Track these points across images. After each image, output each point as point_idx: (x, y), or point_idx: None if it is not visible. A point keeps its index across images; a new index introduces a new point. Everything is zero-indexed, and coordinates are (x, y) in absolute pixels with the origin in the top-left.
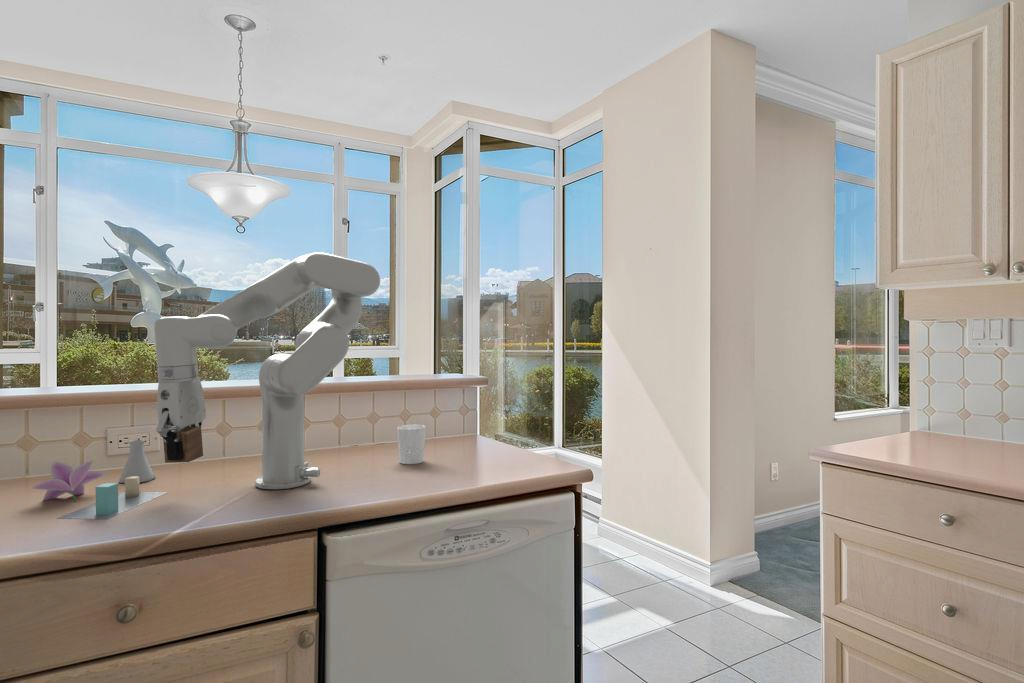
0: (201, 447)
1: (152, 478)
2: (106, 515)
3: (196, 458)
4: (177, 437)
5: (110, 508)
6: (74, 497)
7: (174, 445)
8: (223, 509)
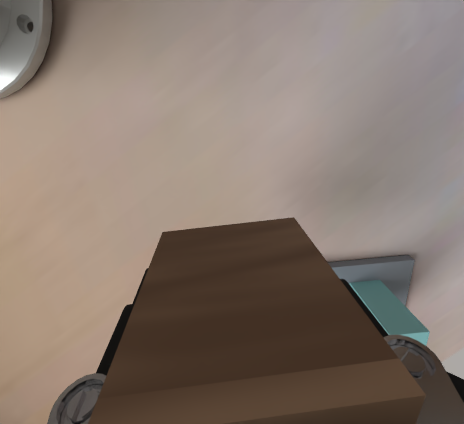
0: (163, 259)
1: None
2: (386, 279)
3: (226, 225)
4: (434, 375)
5: (380, 288)
6: None
7: (384, 331)
8: (296, 19)
